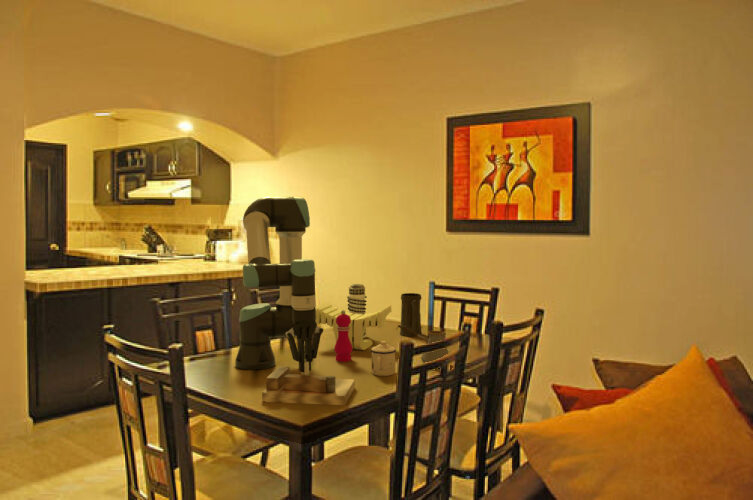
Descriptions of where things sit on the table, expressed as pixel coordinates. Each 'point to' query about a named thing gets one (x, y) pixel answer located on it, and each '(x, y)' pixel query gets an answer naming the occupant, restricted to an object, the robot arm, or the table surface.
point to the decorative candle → (357, 300)
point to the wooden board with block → (278, 394)
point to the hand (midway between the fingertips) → (305, 381)
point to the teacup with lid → (383, 359)
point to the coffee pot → (433, 337)
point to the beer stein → (410, 313)
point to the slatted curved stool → (352, 323)
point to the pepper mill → (343, 338)
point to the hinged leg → (309, 383)
